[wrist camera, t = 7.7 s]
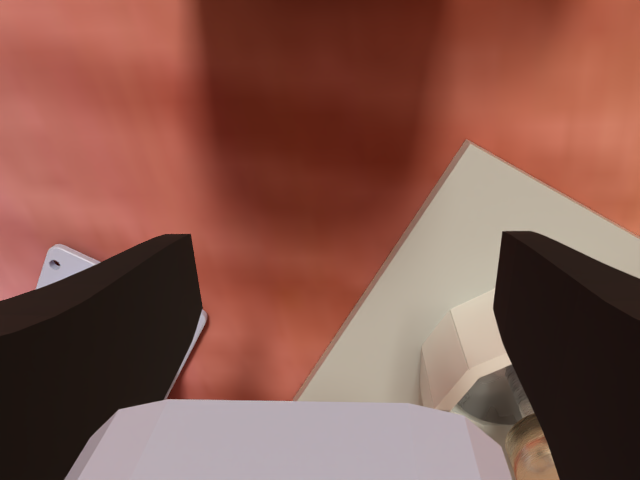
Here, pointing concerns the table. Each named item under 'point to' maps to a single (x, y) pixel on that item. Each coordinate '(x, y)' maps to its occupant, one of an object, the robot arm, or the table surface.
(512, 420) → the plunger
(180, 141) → the table surface
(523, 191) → the white square-based fixture
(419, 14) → the table surface
